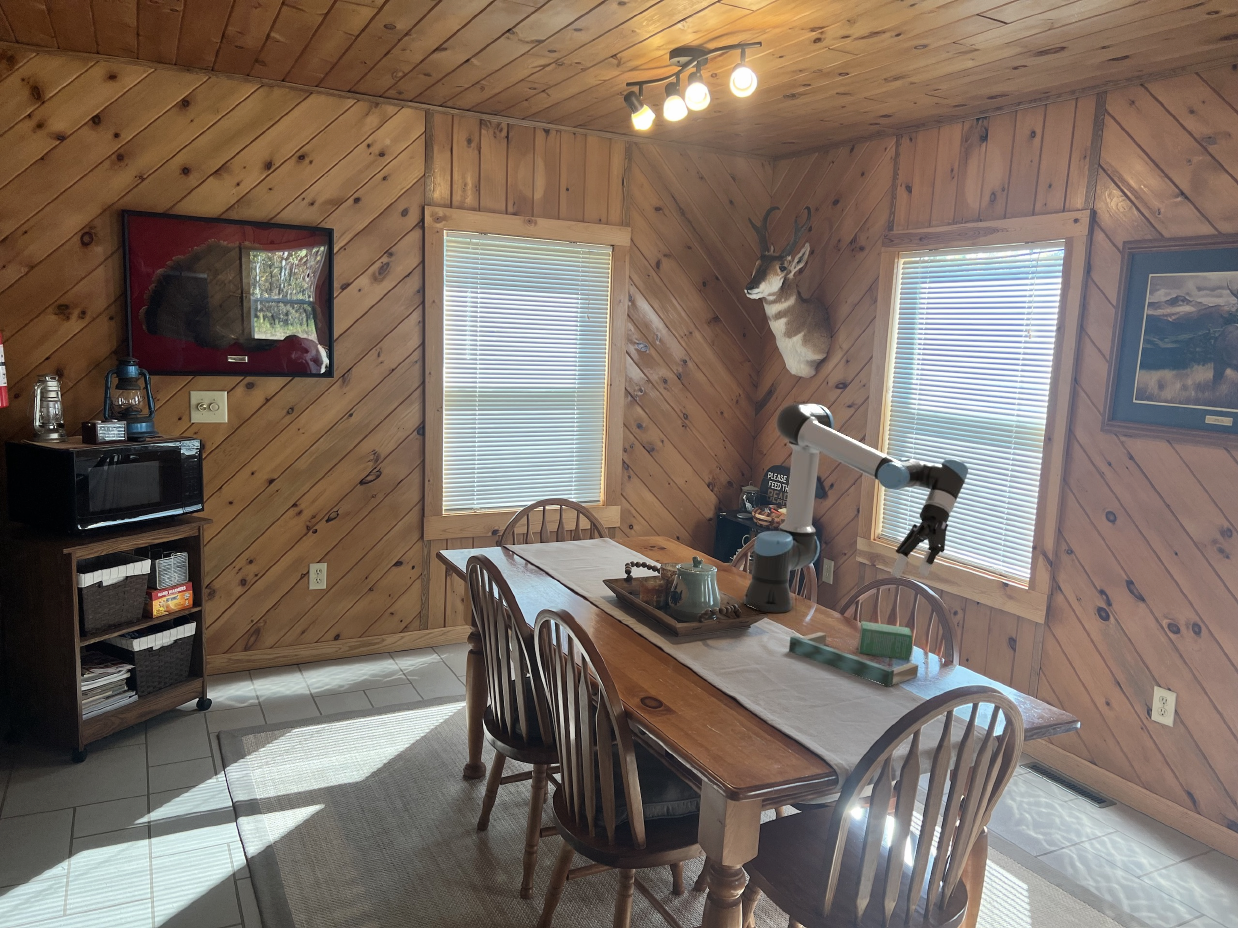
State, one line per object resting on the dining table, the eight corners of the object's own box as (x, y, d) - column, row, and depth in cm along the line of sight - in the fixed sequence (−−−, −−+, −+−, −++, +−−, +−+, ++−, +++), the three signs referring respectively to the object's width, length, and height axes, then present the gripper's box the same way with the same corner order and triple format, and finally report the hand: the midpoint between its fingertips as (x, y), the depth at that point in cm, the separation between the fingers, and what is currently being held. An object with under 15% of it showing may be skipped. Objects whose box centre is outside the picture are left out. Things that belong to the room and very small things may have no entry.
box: (910, 661, 237) (913, 634, 236) (859, 654, 239) (862, 627, 239) (907, 652, 244) (910, 626, 243) (857, 646, 247) (860, 620, 246)
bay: (788, 650, 237) (790, 636, 237) (819, 642, 247) (820, 628, 246) (888, 687, 215) (889, 671, 215) (917, 676, 225) (919, 661, 224)
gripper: (975, 511, 238) (946, 580, 233) (922, 520, 262) (894, 582, 257) (953, 497, 237) (923, 566, 232) (902, 507, 261) (873, 569, 256)
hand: (908, 575), depth 244 cm, fingers open, 13 cm apart
